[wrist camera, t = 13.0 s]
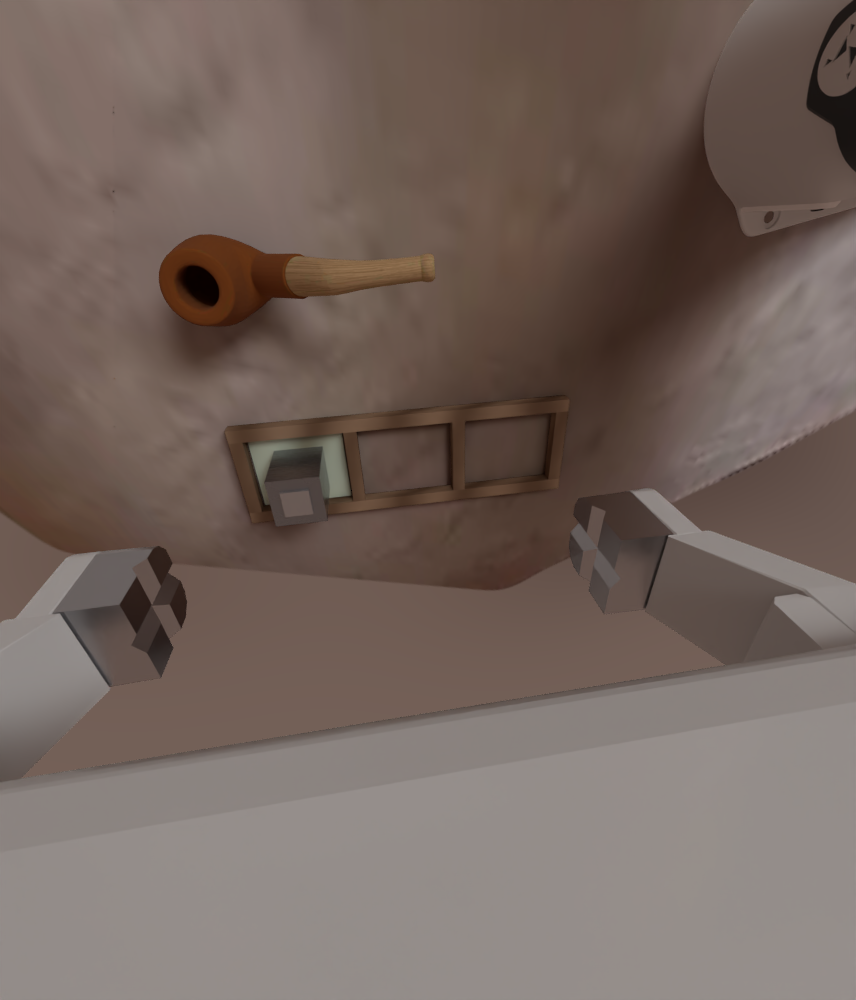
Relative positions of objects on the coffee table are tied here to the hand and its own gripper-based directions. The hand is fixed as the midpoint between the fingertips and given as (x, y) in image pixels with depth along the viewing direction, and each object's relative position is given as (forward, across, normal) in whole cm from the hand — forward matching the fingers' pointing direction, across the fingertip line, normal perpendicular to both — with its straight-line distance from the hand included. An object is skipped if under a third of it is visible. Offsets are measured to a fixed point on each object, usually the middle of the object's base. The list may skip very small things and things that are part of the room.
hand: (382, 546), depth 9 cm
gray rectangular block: (+33, +7, +15) cm, 37 cm away
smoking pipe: (+33, +4, -3) cm, 34 cm away
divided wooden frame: (+33, -3, +15) cm, 36 cm away
